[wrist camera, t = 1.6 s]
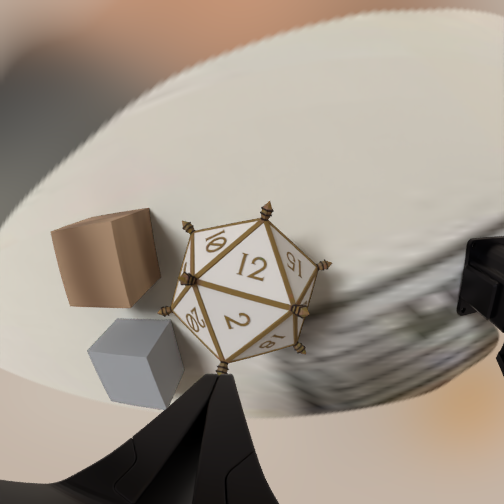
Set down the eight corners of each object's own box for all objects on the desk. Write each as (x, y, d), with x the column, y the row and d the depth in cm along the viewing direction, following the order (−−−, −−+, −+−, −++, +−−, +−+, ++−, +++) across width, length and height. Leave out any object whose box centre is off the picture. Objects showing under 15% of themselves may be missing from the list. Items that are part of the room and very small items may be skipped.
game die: (257, 273, 23) (226, 395, 17) (173, 208, 19) (108, 345, 13) (358, 237, 17) (350, 401, 11) (270, 135, 13) (201, 339, 7)
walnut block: (149, 207, 18) (110, 221, 13) (161, 276, 19) (130, 308, 15) (93, 216, 19) (50, 231, 14) (106, 278, 20) (70, 306, 15)
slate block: (171, 319, 20) (146, 357, 16) (184, 369, 22) (167, 410, 17) (117, 318, 21) (87, 350, 16) (134, 365, 22) (111, 401, 17)
